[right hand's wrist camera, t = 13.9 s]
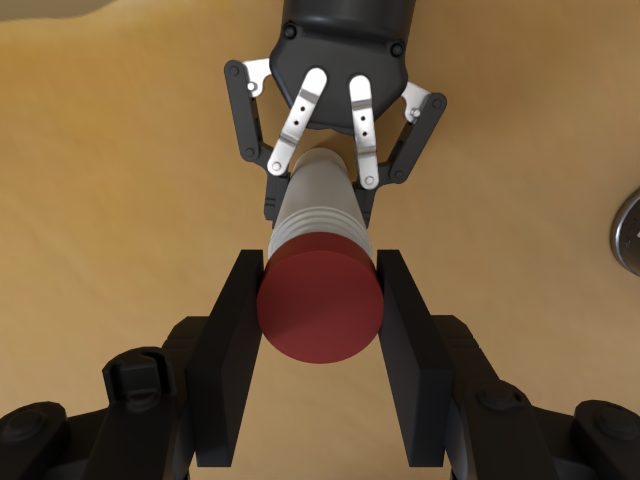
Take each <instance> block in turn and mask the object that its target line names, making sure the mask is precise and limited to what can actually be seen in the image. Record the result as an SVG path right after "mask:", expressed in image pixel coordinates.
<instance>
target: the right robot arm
mask: <svg viewBox="0 0 640 480" xmlns="http://www.w3.org/2000/svg"><path fill="white" fill-rule="evenodd" d="M263 273H264V264H263V250H241V252H240V254H239V256H238V258H237V260H236V262H235V264H234V266H233V268H232V270H231V272H230V274H229V276H228V279H227V281H226V283H225V285H224V287H223V289H222V291H221V293H220V295H219V297H218V299H217V301H216V303H215V305H214V307H213V309H212V311H211V313H210V315H209V316H187V317H186V318H185V319H183V320H182V321H181V322H179V323H178V324H177V325H175V326H174V328H173V329H172V331H171V332H170V334H169V336H168V337H167V340H166V341H165V342H164V344H163V345H162V348H159V347H140V348H135V349H131V350H128V351H126V352H124V353H121V354H119V355H117V356H116V357H115V358H113V359H112V360H110V361H109V362H108V363H107V364H106V366H105V367H104V368H103V369H102V373H103V377H104V382H105V386H106V390H107V395H108V399H109V406H108V408H105V409H101V410H98V411H94V412H90V413H86V414H81V415H77V416H72V417H68V418H67V415H66V411H65V409H64V408H63V407H62V406H61V405H60V404H59V403H54V402H49V401H47V402H38V403H33V404H30V405H27V406H23V407H20V408H18V409H16V410H14V411H12V412H10V413H9V414H7V415H5V416H3V417H2V418H1V419H0V480H190V474H189V466H190V464H191V461H192V458H193V455H194V452H196V459H197V466H198V467H231V464H232V459H233V455H234V451H235V447H236V443H237V438H238V434H239V430H240V426H241V421H242V417H243V413H244V409H245V404H246V400H247V396H248V392H249V387H250V383H251V379H252V375H253V370H254V366H255V362H256V358H257V353H258V349H259V345H260V341H261V336H262V331H261V328H260V326H259V324H258V318H257V301H256V298H257V293H258V290H259V286H260V283H261V280H262V277H263ZM376 273H377V276H378V279H379V282H380V285H381V289H382V292H383V295H384V306H383V321H382V325H381V327H380V329H379V331H378V335H379V340H380V344H381V348H382V352H383V357H384V361H385V365H386V369H387V374H388V378H389V382H390V386H391V391H392V395H393V399H394V403H395V408H396V412H397V416H398V420H399V424H400V429H401V433H402V437H403V441H404V446H405V450H406V454H407V458H408V463H409V467H443V461H444V454H445V449H446V452H447V455H448V458H449V461H450V464H451V466H452V468H451V474H450V480H640V416H638V415H637V414H636V413H634V412H632V411H630V410H628V409H626V408H624V407H622V406H620V405H616V404H613V403H610V402H607V401H600V400H588V401H583V402H581V403H580V404H579V405H578V406H577V407H576V409H575V412H574V416H571V415H566V414H562V413H558V412H553V411H549V410H545V409H541V408H538V407H535V406H532V405H531V403H530V401H529V400H528V398H527V397H526V395H525V394H524V393H523V392H521V391H520V390H519V389H518V388H517V387H515V386H513V385H511V384H509V383H507V382H505V381H503V380H500V379H499V377H498V376H497V374H496V372H495V371H494V369H493V368H492V366H491V364H490V363H489V361H488V360H487V358H486V356H485V355H484V353H483V351H482V350H481V348H479V345H478V343H477V342H476V340H475V338H473V335H472V334H471V332H470V330H469V329H468V327H467V326H466V324H464V323H463V322H462V321H460V320H459V319H457V318H456V317H455V316H453V315H430V313H429V311H428V309H427V307H426V305H425V303H424V301H423V299H422V296H421V294H420V292H419V290H418V288H417V286H416V284H415V282H414V280H413V278H412V276H411V274H410V272H409V270H408V268H407V266H406V264H405V262H404V260H403V257H402V255H401V253H400V251H399V250H377V268H376Z"/></svg>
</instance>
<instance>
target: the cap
mask: <svg viewBox="0 0 640 480" xmlns="http://www.w3.org/2000/svg"><path fill="white" fill-rule="evenodd" d="M256 301H257V318H258V324H259V326H260V328H261V331H262V332H263V334H264V336H265V337H266V338H267V340H268V341H269V342H270V343H271V344H272V345H273V346H274V347H275V348H276V349H278V350H279V351H280V352H282V353H283V354H285V355H287V356H289V357H291V358H293V359H296V360H299V361H302V362H307V363H316V364H325V363H333V362H338V361H342V360H344V359H347V358H350V357H352V356H353V355H355V354H357V353H359V352H360V351H361V350H363V349H364V348H365V347H366V346H367V345H369V344H370V342H371V341H372V340H373V339H374V338H375V336H376V334H377V333H378V331H379V329H380V327H381V325H382V321H383V306H384V295H383V292H382V289H381V285H380V282H379V279H378V276H377V273H376V269H375V266H374V264H373V262H372V260H371V258H370V257H369V255H368V254H367V253H366V252H365V250H364V249H363V248H362V247H360V246H359V245H358V244H357V243H355V242H354V241H352V240H351V239H349V238H347V237H345V236H342V235H339V234H336V233H331V232H310V233H305V234H301V235H298V236H296V237H294V238H291V239H290V240H288V241H286V242H285V243H283V244H282V245H281V246H280V247H279V248H278V249H277V250H276V251H275V252H274V253H273V254H272V256H271V257H270V259H269V261H268V263H267V265H266V267H265V270H264V273H263V277H262V280H261V283H260V286H259V290H258V293H257V298H256Z"/></svg>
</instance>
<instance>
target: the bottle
mask: <svg viewBox="0 0 640 480" xmlns="http://www.w3.org/2000/svg"><path fill="white" fill-rule="evenodd" d="M310 232H331V233H336V234H339V235H342V236H345V237H347V238H349V239H351V240H352V241H354V242H355V243H357V244H358V245H359V246H360V247H362V248H363V249H364V250H365V252H366V253H367V254H368V255H369V257H370V258H371V260H372V246H371V242H370V239H369V235H368V232H367V229H366V226H365V223H364V220H363V217H362V214H361V211H360V208H359V205H358V202H357V199H356V196H355V193H354V190H353V187H352V184H351V181H350V178H349V175H348V172H347V169H346V166H345V163H344V161H343V160H342V158H341V157H340V156H339V155H338V154H337V153H336V152H334V151H333V150H330V149H327V148H322V147H318V148H313V149H310V150H308V151H306V152H304V153H303V154H302V155H301V156H300V157H299V158H298V160H297V161H296V164H295V166H294V169H293V172H292V175H291V178H290V181H289V184H288V187H287V191H286V194H285V197H284V200H283V203H282V206H281V209H280V212H279V215H278V218H277V221H276V224H275V227H274V230H273V233H272V236H271V239H270V243H269V248H268V260H269V259H270V257H271V256H272V254H273V253H274V252H275V251H276V250H277V249H278V248H279V247H280V246H281V245H282V244H283V243H285V242H286V241H288V240H290V239H291V238H294V237H296V236H298V235H301V234H305V233H310Z"/></svg>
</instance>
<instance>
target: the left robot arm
mask: <svg viewBox="0 0 640 480" xmlns="http://www.w3.org/2000/svg"><path fill="white" fill-rule="evenodd" d="M415 2H416V0H284V6H283V16H282V25H281V33H280V37H279V40H278V42H277V44H276V46H275V47H274V49H273V50H272V52H271V54H270V57H269V58H265V59H258V60H252V61H245V62H242V61H239V60H230V61H228V62H227V63H226V65H225V67H224V73H225V79H226V84H227V89H228V94H229V99H230V104H231V109H232V114H233V119H234V124H235V129H236V134H237V139H238V144H239V149H240V154H241V157H242V158H243V159H244V160H245V161H248V162H254V163H256V164H258V165H259V166H261V167H263V168H264V169H265V171H266V173H267V176H268V179H267V188H266V197H265V206H264V215H265V218H266V220H271V221H273V224H272V229H274V227H275V224H276V221H277V218H278V215H279V212H280V209H281V206H282V203H283V200H284V197H285V194H286V191H287V187H288V184H289V181H290V175H291V172H288V168H289V161H290V159H291V157H292V155H293V153H294V151H295V149H296V146H297V144H298V142H299V140H300V138H301V136H302V134H303V132H304V129H305V128H309V129H315V130H320V129H329V128H330V129H333V130H335V131H337V132H339V133H342V134H347V135H352V141H353V148H354V154H355V161H356V169H357V180H356V182H353V184H352V187H353V190H354V193H355V196H356V199H357V202H358V205H359V208H360V211H361V214H362V217H363V220H364V223H365V226H366V229H367V228H368V225H369V221H370V216H371V211H372V206H373V201H374V196H375V192H376V190H377V189H378V188H379V187H380V186H382V185H386V184H391V183H396V184H401V183H403V182H405V181H406V180H407V178H408V176H409V174H410V172H411V171H412V169H413V167H414V165H415V163H416V161H417V159H418V158H419V156H420V154H421V152H422V150H423V148H424V147H425V145H426V143H427V141H428V139H429V137H430V136H431V134H432V132H433V130H434V128H435V126H436V124H437V123H438V121H439V119H440V117H441V115H442V113H443V112H444V110H445V108H446V105H447V99H446V97H445V96H444V95H443V94H441V93H430V92H428V91H427V90H425V89H423V88H421V87H419V86H417V85H415V84H413V83H411V82H409V81H408V74H407V70H406V66H405V51H406V46H407V41H408V36H409V31H410V26H411V21H412V17H413V12H414V7H415ZM270 75H272V76H273V78H274V80H275V82H276V84H277V86H278V88H279V89H280V91H281V93H282V95H283V97H284V99H285V101H286V103H287V105H288V107H289V109H290V113H289V116H288V118H287V120H286V122H285V125H284V127H283V129H282V131H281V134H280V136H279V139H278V141H277V143H276V145H275V148H273V147H271V146H269V145H267V144H265V143H264V142H263V137H262V131H261V126H260V120H259V114H258V109H257V103H256V97H258V96H260V95H261V94H262V93H263V92H264V84H265V80H266V78H267V77H268V76H270ZM399 97H401V98H402V99H403V101H404V107H403V110H402V115H403V118H404V119H405V120H406V121H407V123H406V124H405V126H404V128H403V130H402V132H401V134H400V136H399V138H398V140H397V142H396V144H395V146H394V148H393V150H392V152H391V154H390V155H389V157H388V159H387V161H386V162H382V163H377V157H376V139H375V130H374V122H375V121H376V120H377V119H378V118H379V117H380V116H381V115H382V114H383V113H384V112H385V111H386V110H387V109H388V108H389V107H390V106H391V105H392V104H393V103H394V102H395V101H396V100H397V99H398V98H399ZM611 247H612V251H613V254H614V256H615V258H616V259H617V261H618V262H619V263H620V264H621V265H622V266H623V267H624V268H625V269H627V270H629V271H630V272H632V273H634V274H635V275H637V276H640V189H639V190H637V191H636V192H635V193H634V194H633V195H632V196H631V197H630V198H629V199H628V200H627V201H626V202H625V203H624V205H623V206H622V207H621V209H620V210H619V212H618V214H617V216H616V218H615V220H614V223H613V226H612V231H611Z"/></svg>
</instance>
